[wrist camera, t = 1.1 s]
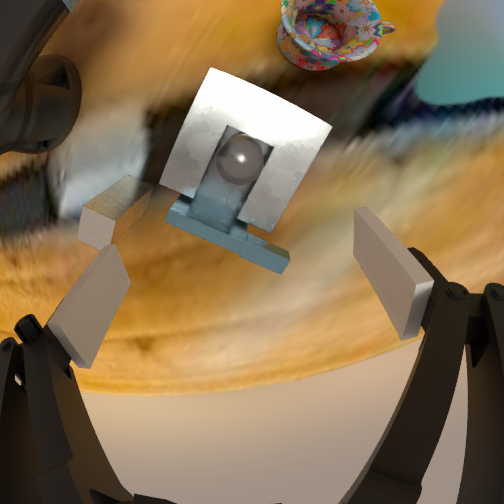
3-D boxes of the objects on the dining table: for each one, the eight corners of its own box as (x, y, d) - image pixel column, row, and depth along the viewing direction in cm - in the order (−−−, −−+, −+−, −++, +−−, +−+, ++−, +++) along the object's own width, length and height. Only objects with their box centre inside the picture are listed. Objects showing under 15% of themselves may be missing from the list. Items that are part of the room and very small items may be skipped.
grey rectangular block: (121, 200, 36) (77, 239, 25) (129, 175, 34) (82, 205, 23) (145, 211, 37) (107, 254, 26) (154, 186, 35) (115, 221, 24)
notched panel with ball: (164, 190, 35) (132, 223, 25) (217, 73, 28) (200, 57, 18) (274, 239, 38) (281, 287, 29) (336, 133, 31) (370, 144, 22)
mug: (279, 77, 28) (291, 63, 19) (266, 12, 24) (271, -24, 15) (372, 74, 27) (415, 66, 18) (360, 11, 23) (395, -15, 14)
